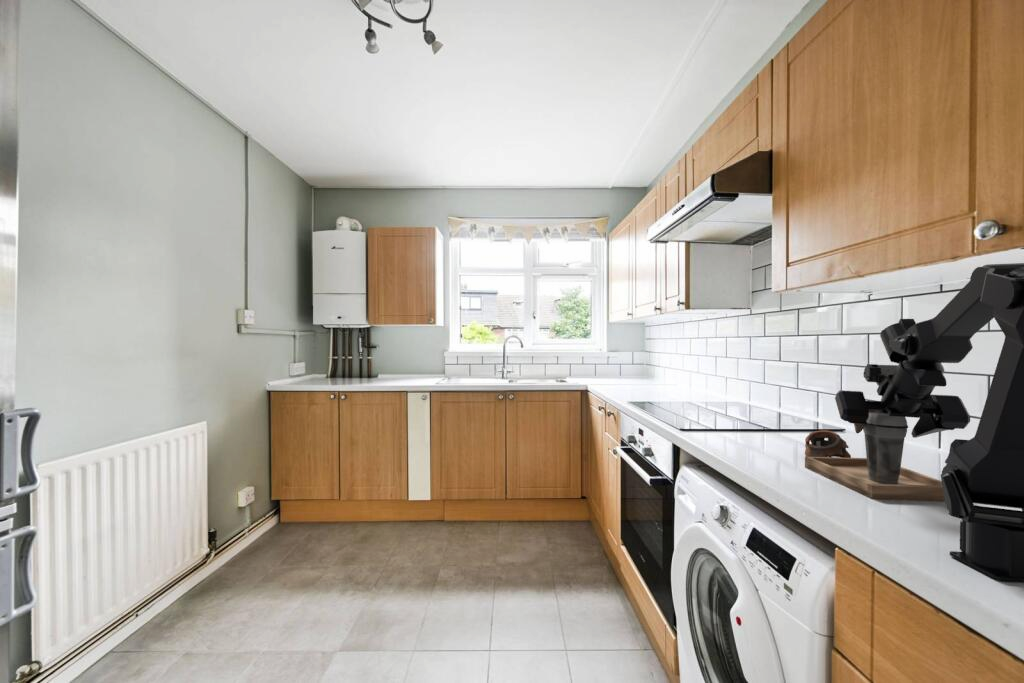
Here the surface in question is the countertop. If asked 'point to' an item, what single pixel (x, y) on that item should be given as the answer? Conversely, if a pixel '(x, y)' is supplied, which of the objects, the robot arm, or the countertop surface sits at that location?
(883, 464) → the beverage cup
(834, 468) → the walnut tray
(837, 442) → the brown rounded piece
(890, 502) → the countertop surface
